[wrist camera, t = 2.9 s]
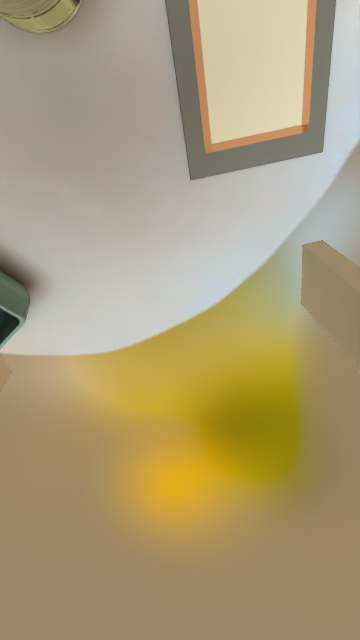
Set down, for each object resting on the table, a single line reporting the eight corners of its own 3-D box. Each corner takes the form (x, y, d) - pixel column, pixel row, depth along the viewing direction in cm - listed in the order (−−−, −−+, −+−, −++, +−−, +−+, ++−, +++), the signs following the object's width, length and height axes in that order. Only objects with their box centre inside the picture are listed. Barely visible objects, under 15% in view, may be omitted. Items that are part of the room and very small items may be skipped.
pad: (190, 179, 38) (191, 180, 37) (148, -115, 25) (149, -121, 24) (320, 151, 38) (323, 152, 37) (346, -157, 25) (351, -163, 24)
